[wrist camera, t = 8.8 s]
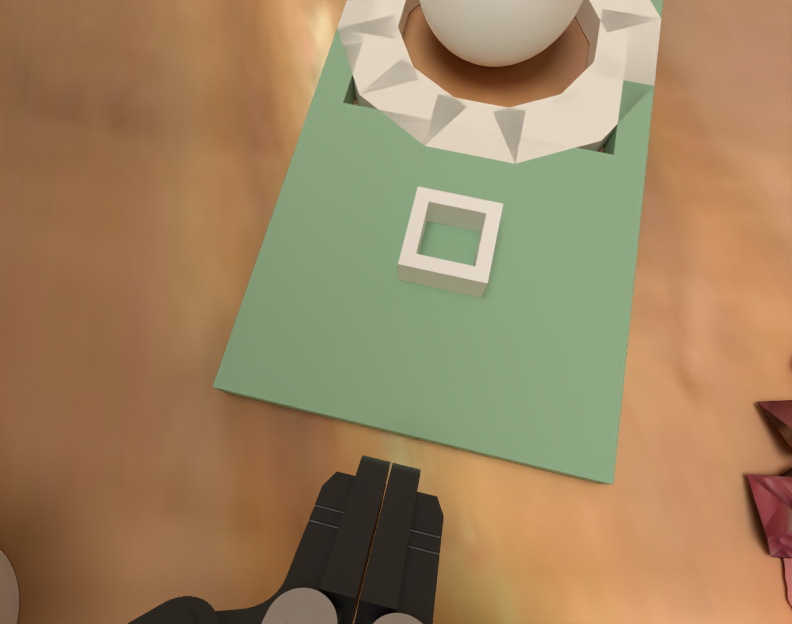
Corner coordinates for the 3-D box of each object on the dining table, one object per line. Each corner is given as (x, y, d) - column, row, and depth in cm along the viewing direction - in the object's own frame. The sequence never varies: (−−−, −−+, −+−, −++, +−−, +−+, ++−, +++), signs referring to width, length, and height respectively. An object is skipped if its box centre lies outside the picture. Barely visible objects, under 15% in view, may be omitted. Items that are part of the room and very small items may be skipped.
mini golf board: (598, 483, 20) (1123, 519, 6) (225, 392, 22) (-158, 224, 7) (657, -49, 29) (923, -587, 14) (389, -92, 30) (377, -628, 16)
